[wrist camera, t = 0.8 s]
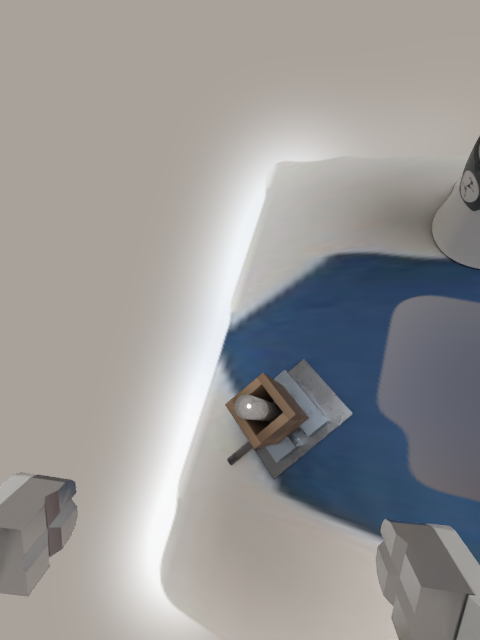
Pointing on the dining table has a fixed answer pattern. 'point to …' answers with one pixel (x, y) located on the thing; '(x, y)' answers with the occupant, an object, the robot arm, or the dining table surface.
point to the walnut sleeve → (264, 430)
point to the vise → (322, 421)
